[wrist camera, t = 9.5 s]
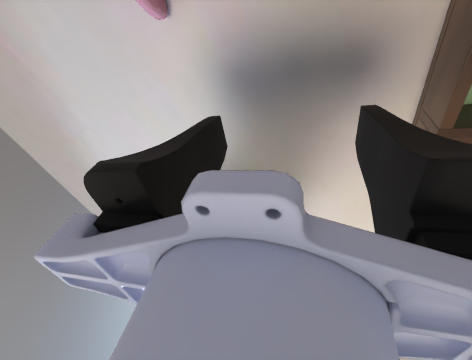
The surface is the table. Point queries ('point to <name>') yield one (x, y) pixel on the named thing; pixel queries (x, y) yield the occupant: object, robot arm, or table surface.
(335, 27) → the table surface
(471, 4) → the caddy
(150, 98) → the table surface
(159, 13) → the video game controller
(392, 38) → the table surface
